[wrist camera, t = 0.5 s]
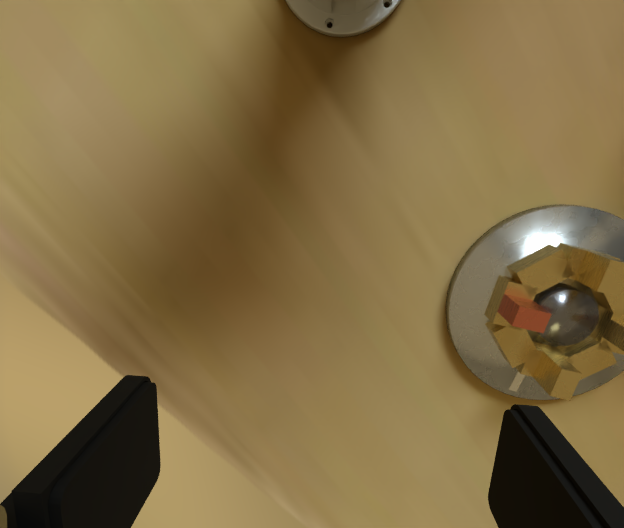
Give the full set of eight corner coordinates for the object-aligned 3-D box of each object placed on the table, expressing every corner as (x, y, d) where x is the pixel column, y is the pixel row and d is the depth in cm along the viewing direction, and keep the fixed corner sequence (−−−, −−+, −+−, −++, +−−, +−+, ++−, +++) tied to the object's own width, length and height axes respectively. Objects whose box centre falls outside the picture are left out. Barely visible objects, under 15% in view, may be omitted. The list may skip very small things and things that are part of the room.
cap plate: (484, 182, 41) (500, 184, 37) (690, 232, 41) (727, 240, 37) (420, 367, 47) (428, 386, 43) (601, 411, 47) (625, 433, 43)
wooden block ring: (515, 231, 41) (544, 243, 35) (648, 263, 41) (699, 281, 35) (469, 352, 44) (489, 381, 38) (591, 381, 44) (629, 415, 39)
